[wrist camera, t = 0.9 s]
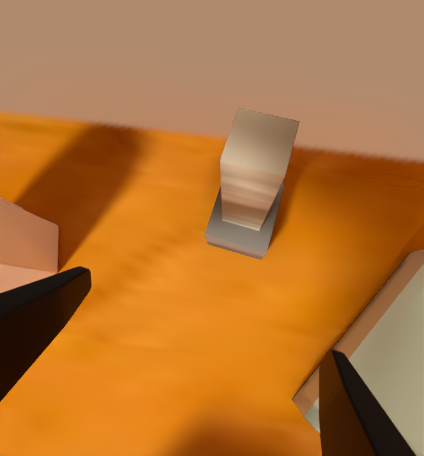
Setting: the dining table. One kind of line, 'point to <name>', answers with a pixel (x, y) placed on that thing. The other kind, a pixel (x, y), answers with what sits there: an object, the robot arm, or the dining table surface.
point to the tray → (387, 353)
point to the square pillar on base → (251, 182)
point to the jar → (25, 247)
